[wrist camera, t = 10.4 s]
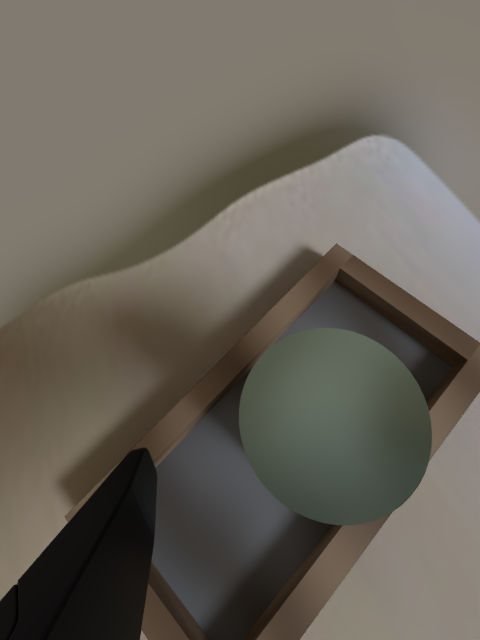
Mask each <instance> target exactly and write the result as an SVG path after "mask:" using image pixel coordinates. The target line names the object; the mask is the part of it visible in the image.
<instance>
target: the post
mask: <svg viewBox="0 0 480 640" xmlns="http://www.w3.org/2000/svg"><path fill="white" fill-rule="evenodd" d="M239 428H240V435H241V440H242V443H243V447H244V451H245V453H246V456H247V458H248V461H249V463H250V465H251V466H252V468H253V470H254V472H255V474H256V475H257V477H258V478H259V479H260V481H261V482H262V484H263V485H264V486H265V487H266V488H267V489H268V490H269V492H270V493H271V494H272V495H273V496H274V497H275V498H277V499H278V500H279V501H280V502H281V503H283V504H284V505H285V506H287V507H288V508H290V509H292V510H293V511H295V512H296V513H298V514H300V515H303V516H305V517H307V518H309V519H312V520H315V521H319V522H322V523H326V524H333V525H357V524H363V523H368V522H371V521H374V520H377V519H380V518H382V517H384V516H386V515H388V514H390V513H391V512H393V511H394V510H396V509H397V508H398V507H400V506H401V505H402V504H403V503H404V502H405V501H406V500H407V499H408V498H409V497H410V496H411V495H412V494H413V492H414V491H415V490H416V488H417V487H418V485H419V484H420V482H421V480H422V478H423V476H424V474H425V471H426V468H427V465H428V462H429V459H430V453H431V448H432V427H431V419H430V414H429V410H428V406H427V403H426V400H425V398H424V395H423V393H422V391H421V389H420V387H419V385H418V383H417V381H416V380H415V378H414V377H413V375H412V374H411V372H410V371H409V370H408V369H407V367H406V366H405V365H404V364H403V363H402V362H401V361H400V360H399V359H398V358H397V357H396V356H395V355H394V354H393V353H392V352H390V351H389V350H388V349H387V348H385V347H384V346H382V345H381V344H379V343H378V342H376V341H374V340H372V339H370V338H368V337H366V336H364V335H361V334H358V333H355V332H352V331H348V330H343V329H337V328H315V329H308V330H304V331H300V332H297V333H294V334H292V335H290V336H287V337H285V338H283V339H282V340H280V341H278V342H277V343H275V344H274V345H273V346H272V347H270V348H269V349H268V350H267V351H266V352H265V353H264V354H263V355H262V356H261V357H260V358H259V359H258V361H257V362H256V363H255V365H254V366H253V368H252V370H251V371H250V373H249V375H248V377H247V379H246V382H245V384H244V387H243V391H242V395H241V399H240V406H239Z"/></svg>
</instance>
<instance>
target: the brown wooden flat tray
mask: <svg viewBox="0 0 480 640" xmlns="http://www.w3.org/2000/svg"><path fill="white" fill-rule="evenodd" d="M315 328H337V329H343V330H348V331H352V332H355V333H358V334H361V335H364V336H366V337H368V338H370V339H372V340H374V341H376V342H378V343H379V344H381V345H382V346H384V347H385V348H387V349H388V350H389V351H390V352H392V353H393V354H394V355H395V356H396V357H397V358H398V359H399V360H400V361H401V362H402V363H403V364H404V365H405V366H406V367H407V369H408V370H409V371H410V372H411V374H412V375H413V377H414V378H415V380H416V381H417V383H418V385H419V387H420V389H421V391H422V393H423V395H424V398H425V400H426V403H427V406H428V410H429V414H430V419H431V427H432V448H431V453H430V459H431V458H432V457H433V455H434V454H435V452H436V451H437V450H438V448H439V447H440V446H441V444H442V443H443V441H444V440H445V439H446V437H447V436H448V435H449V433H450V432H451V430H452V429H453V428H454V426H455V425H456V424H457V422H458V421H459V419H460V418H461V417H462V415H463V414H464V413H465V411H466V410H467V408H468V407H469V406H470V404H471V403H472V402H473V400H474V399H475V397H476V396H477V395H478V393H479V392H480V342H478V341H477V340H475V339H474V338H472V337H471V336H469V335H468V334H467V333H465V332H464V331H462V330H461V329H459V328H458V327H456V326H455V325H454V324H452V323H451V322H449V321H448V320H446V319H445V318H443V317H442V316H441V315H439V314H438V313H436V312H435V311H433V310H432V309H430V308H429V307H428V306H426V305H425V304H423V303H422V302H420V301H419V300H417V299H416V298H415V297H413V296H412V295H410V294H409V293H407V292H406V291H404V290H403V289H402V288H400V287H399V286H397V285H396V284H394V283H393V282H391V281H390V280H389V279H387V278H386V277H384V276H383V275H381V274H380V273H378V272H377V271H376V270H374V269H373V268H371V267H370V266H368V265H367V264H365V263H364V262H363V261H361V260H360V259H358V258H357V257H355V256H354V255H352V254H351V253H350V252H348V251H347V250H345V249H344V248H342V247H341V246H339V245H338V244H337V243H336V244H335V245H334V246H333V247H332V248H331V249H330V250H329V251H328V252H327V253H326V254H325V255H324V256H323V257H322V258H321V259H320V260H319V261H318V262H317V264H316V265H315V266H314V267H313V268H312V269H311V270H310V271H309V272H308V273H307V274H306V275H305V276H304V277H303V278H302V279H301V280H300V281H299V282H298V283H297V284H296V285H295V286H294V287H293V288H292V289H291V290H290V291H289V292H288V293H287V294H286V295H285V296H284V297H283V298H282V299H281V300H280V301H279V302H278V303H277V304H276V305H275V306H274V307H273V308H272V309H271V310H270V311H269V312H268V313H267V314H266V315H265V316H264V317H263V318H262V319H261V320H260V321H259V322H258V323H257V324H256V325H255V326H254V327H253V328H252V329H251V330H250V331H249V332H248V333H247V334H246V335H245V336H244V337H243V338H242V339H241V340H240V341H239V342H238V343H237V344H236V345H235V346H234V347H233V348H232V349H231V350H230V351H229V352H228V353H227V354H226V355H225V356H224V357H223V358H222V359H221V360H220V361H219V362H218V363H217V364H216V365H215V366H214V367H213V368H212V369H211V370H210V371H209V372H208V373H207V374H206V375H205V376H204V377H203V378H202V379H201V380H200V381H199V382H198V383H197V384H196V385H195V386H194V387H193V388H192V389H191V390H190V391H189V392H188V393H187V394H186V395H185V396H184V397H183V398H182V399H181V400H180V401H179V402H178V403H177V404H176V405H175V406H174V407H173V408H172V409H171V410H170V411H169V412H168V413H167V414H166V415H165V416H164V417H163V418H162V419H161V420H160V421H159V422H158V423H157V424H156V425H155V426H154V427H153V428H152V429H151V430H150V431H149V432H148V433H147V434H146V435H145V436H144V437H143V438H142V439H141V440H140V441H139V442H138V443H137V444H136V445H135V446H134V447H133V448H132V449H131V450H133V449H138V448H143V447H145V448H147V449H148V450H149V452H150V455H151V458H152V460H153V463H154V465H155V468H156V471H157V498H156V520H155V538H154V547H153V554H152V561H151V568H150V574H149V581H148V588H147V594H146V601H145V608H144V614H143V621H142V628H141V630H142V631H143V633H144V634H145V636H146V637H147V639H148V640H300V638H301V637H302V636H303V634H304V633H305V632H306V630H307V629H308V627H309V626H310V625H311V623H312V622H313V621H314V619H315V618H316V616H317V615H318V614H319V612H320V611H321V610H322V608H323V607H324V605H325V604H326V603H327V601H328V600H329V598H330V597H331V596H332V594H333V593H334V592H335V590H336V589H337V587H338V586H339V585H340V583H341V582H342V581H343V579H344V578H345V576H346V575H347V574H348V572H349V571H350V570H351V568H352V567H353V565H354V564H355V563H356V561H357V560H358V559H359V557H360V556H361V554H362V553H363V552H364V550H365V549H366V548H367V546H368V545H369V543H370V542H371V541H372V539H373V538H374V537H375V535H376V534H377V532H378V531H379V530H380V528H381V527H382V525H383V524H384V523H385V521H386V520H387V519H388V517H389V516H390V514H391V513H392V512H391V513H390V514H388V515H386V516H384V517H382V518H380V519H377V520H374V521H371V522H368V523H363V524H357V525H333V524H326V523H322V522H319V521H315V520H312V519H309V518H307V517H305V516H303V515H300V514H298V513H296V512H295V511H293V510H292V509H290V508H288V507H287V506H285V505H284V504H283V503H281V502H280V501H279V500H278V499H277V498H275V497H274V496H273V495H272V494H271V493H270V492H269V490H268V489H267V488H266V487H265V486H264V485H263V484H262V482H261V481H260V479H259V478H258V477H257V475H256V474H255V472H254V470H253V468H252V466H251V465H250V463H249V461H248V458H247V456H246V453H245V451H244V447H243V443H242V440H241V435H240V428H239V406H240V399H241V395H242V391H243V387H244V384H245V382H246V379H247V377H248V375H249V373H250V371H251V370H252V368H253V366H254V365H255V363H256V362H257V361H258V359H259V358H260V357H261V356H262V355H263V354H264V353H265V352H266V351H267V350H268V349H269V348H270V347H272V346H273V345H274V344H275V343H277V342H278V341H280V340H282V339H283V338H285V337H287V336H290V335H292V334H294V333H297V332H300V331H304V330H308V329H315ZM131 450H130V451H131ZM130 451H129V452H130ZM129 452H128V453H129ZM128 453H127V454H128ZM127 454H126V455H127ZM126 455H125V456H126ZM125 456H124V457H125ZM124 457H123V458H124ZM123 458H122V459H123ZM122 459H121V460H120V461H119V462H118V463H117V464H116V465H115V466H114V467H113V468H112V469H111V470H110V471H109V472H108V473H107V474H106V475H105V476H104V477H103V479H102V480H101V481H100V482H99V483H98V484H97V485H96V486H95V487H94V488H93V489H92V490H91V491H90V492H89V493H88V494H87V495H86V496H85V497H84V498H83V499H82V500H81V501H80V502H79V503H78V504H77V505H76V506H75V507H74V508H73V509H72V510H71V511H70V512H69V513H68V514H67V515H66V516H65V518H66V520H67V521H68V522H69V521H70V520H71V519H72V517H73V516H74V515H75V514H76V513H77V512H78V510H79V509H80V508H81V507H82V506H83V505H84V504H85V502H86V501H87V500H88V499H89V498H90V497H91V495H92V494H93V493H94V492H95V491H96V490H97V488H98V487H99V486H100V485H101V484H102V483H103V482H104V480H105V479H106V478H107V477H108V476H109V475H110V473H111V472H112V471H113V470H114V469H115V468H116V466H117V465H118V464H119V463H120V462H121V461H122ZM430 459H429V461H430Z"/></svg>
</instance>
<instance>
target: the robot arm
mask: <svg viewBox="0 0 480 640" xmlns="http://www.w3.org/2000/svg"><path fill="white" fill-rule="evenodd" d="M156 498H157V471H156V468H155V465H154V463H153V460H152V458H151V455H150V452H149V450H148V449H147V448H145V447H143V448H138V449H133V450H131V451H130V452H129V453H128V454H127V455H126V456H125V457H124V458H123V459H122V461H121V462H120V463H119V464H118V465H117V466H116V468H115V469H114V470H113V471H112V472H111V473H110V475H109V476H108V477H107V478H106V479H105V480H104V482H103V483H102V484H101V485H100V486H99V487H98V488H97V490H96V491H95V492H94V493H93V494H92V495H91V497H90V498H89V499H88V500H87V501H86V502H85V504H84V505H83V506H82V507H81V508H80V509H79V510H78V512H77V513H76V514H75V515H74V516H73V517H72V519H71V520H70V521H69V522H68V523H67V524H66V526H65V527H64V528H63V529H62V530H61V531H60V533H59V534H58V535H57V536H56V537H55V538H54V539H53V541H52V542H51V543H50V544H49V545H48V546H47V548H46V549H45V550H44V551H43V552H42V553H41V555H40V556H39V557H38V558H37V559H36V560H35V561H34V563H33V564H32V565H31V566H30V567H29V568H28V570H27V571H26V572H25V573H24V574H23V575H22V577H21V578H20V579H19V580H18V583H17V584H16V585H14V586H13V587H12V588H11V589H10V590H9V591H8V593H7V594H6V595H5V596H4V597H3V598H2V600H1V601H0V640H140V634H141V628H142V621H143V614H144V608H145V601H146V594H147V588H148V581H149V574H150V568H151V561H152V554H153V547H154V538H155V520H156Z"/></svg>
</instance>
